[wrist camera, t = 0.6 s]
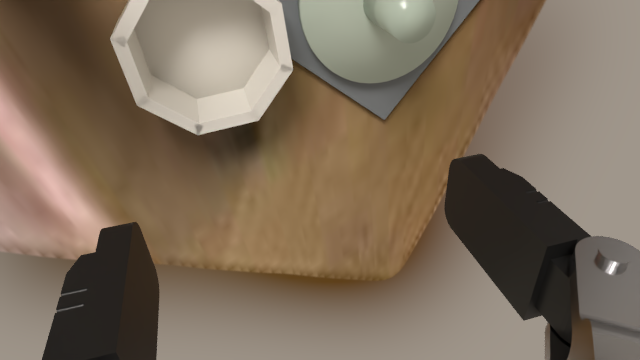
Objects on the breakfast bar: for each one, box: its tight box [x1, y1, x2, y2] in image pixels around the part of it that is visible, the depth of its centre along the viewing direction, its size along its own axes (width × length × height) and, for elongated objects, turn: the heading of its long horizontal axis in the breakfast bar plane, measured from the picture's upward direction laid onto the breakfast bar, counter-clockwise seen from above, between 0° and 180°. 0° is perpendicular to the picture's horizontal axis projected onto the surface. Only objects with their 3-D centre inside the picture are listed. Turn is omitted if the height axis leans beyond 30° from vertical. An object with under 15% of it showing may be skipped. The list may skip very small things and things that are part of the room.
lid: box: [298, 0, 458, 83], centre depth 30 cm, size 12×12×6 cm
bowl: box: [110, 0, 293, 135], centre depth 29 cm, size 10×10×5 cm
